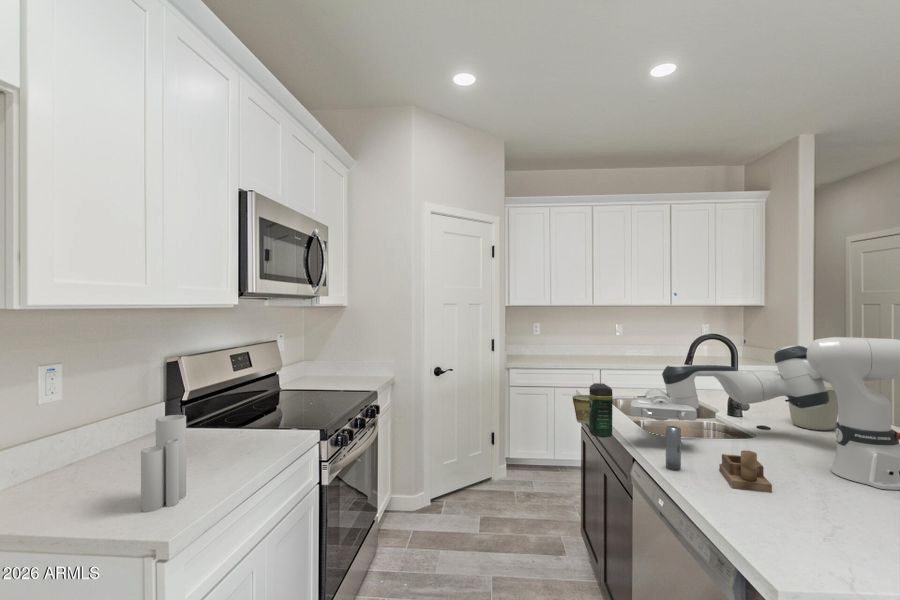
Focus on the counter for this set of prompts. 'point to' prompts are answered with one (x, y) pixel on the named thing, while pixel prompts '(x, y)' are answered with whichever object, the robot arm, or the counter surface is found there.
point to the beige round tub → (817, 413)
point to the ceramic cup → (582, 408)
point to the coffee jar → (600, 410)
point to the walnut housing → (744, 472)
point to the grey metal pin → (673, 448)
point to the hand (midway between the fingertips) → (665, 416)
